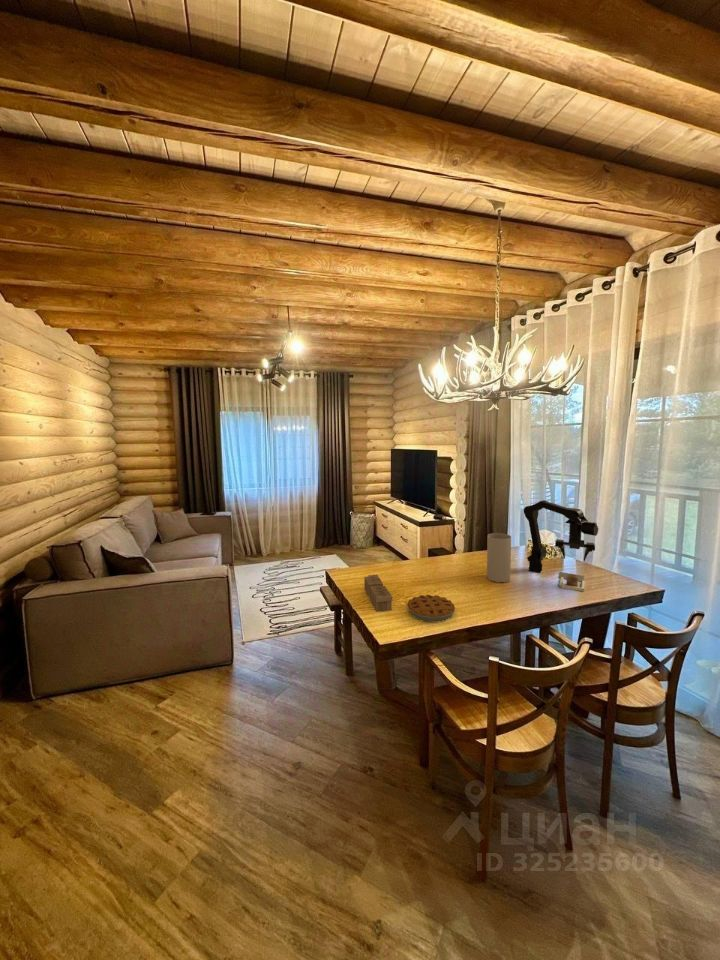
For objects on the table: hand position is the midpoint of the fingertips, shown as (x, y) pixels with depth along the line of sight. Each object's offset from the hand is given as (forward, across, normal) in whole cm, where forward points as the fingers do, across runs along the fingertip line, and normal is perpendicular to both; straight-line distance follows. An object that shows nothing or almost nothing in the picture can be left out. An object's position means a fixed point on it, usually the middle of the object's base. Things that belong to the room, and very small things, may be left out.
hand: (574, 559), depth 203 cm
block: (+12, 0, -8) cm, 15 cm away
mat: (+12, -1, +6) cm, 14 cm away
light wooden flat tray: (+12, 0, -6) cm, 14 cm away
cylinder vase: (+12, -37, -15) cm, 42 cm away
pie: (+12, -56, -72) cm, 92 cm away
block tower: (+12, -85, -71) cm, 112 cm away
